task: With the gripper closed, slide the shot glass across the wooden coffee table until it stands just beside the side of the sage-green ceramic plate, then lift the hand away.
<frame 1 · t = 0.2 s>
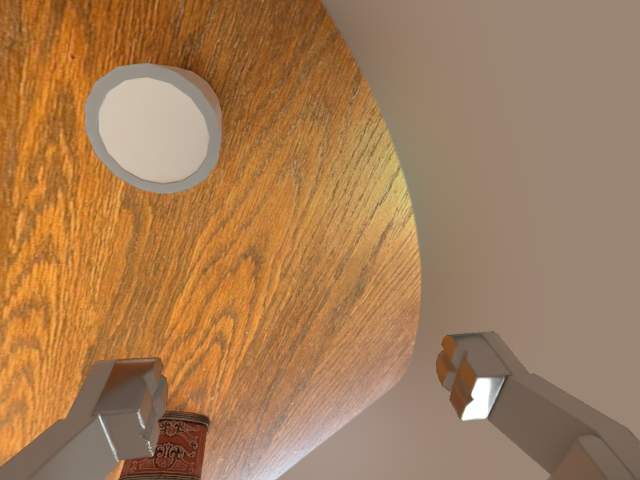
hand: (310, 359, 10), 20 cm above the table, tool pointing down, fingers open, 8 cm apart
shot glass: (181, 110, 25), on the table
lighter: (174, 419, 41), on the table
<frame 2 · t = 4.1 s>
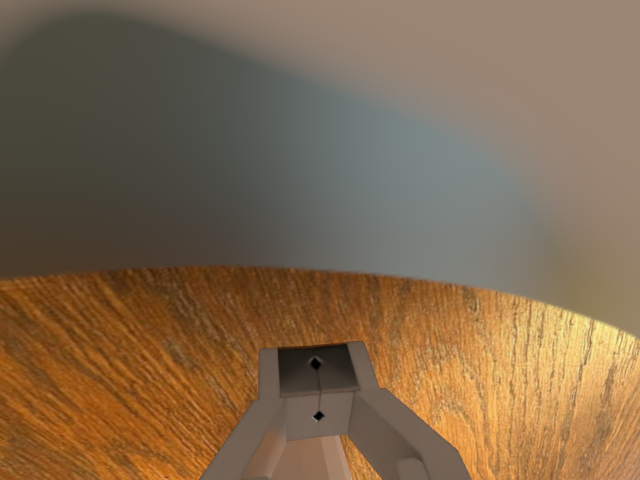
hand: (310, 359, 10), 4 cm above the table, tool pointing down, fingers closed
shot glass: (288, 443, 20), on the table
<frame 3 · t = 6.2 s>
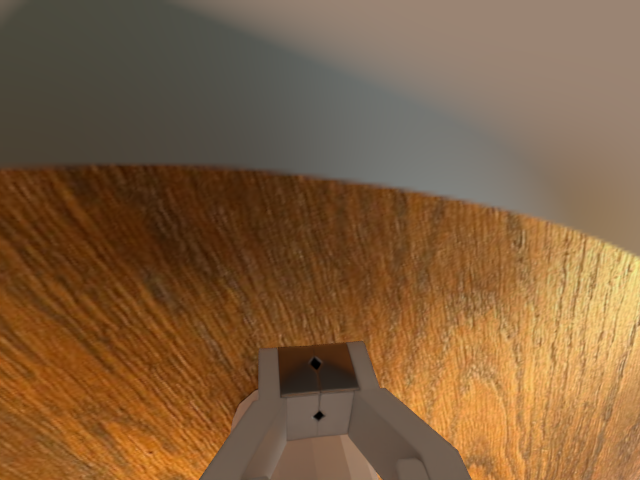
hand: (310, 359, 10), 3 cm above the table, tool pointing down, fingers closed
shot glass: (293, 414, 17), on the table
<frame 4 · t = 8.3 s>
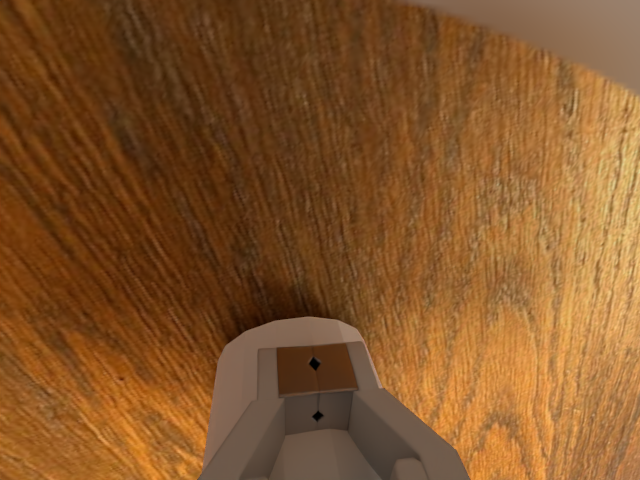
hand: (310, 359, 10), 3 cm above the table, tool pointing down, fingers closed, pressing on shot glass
shot glass: (293, 352, 14), on the table, touching gripper
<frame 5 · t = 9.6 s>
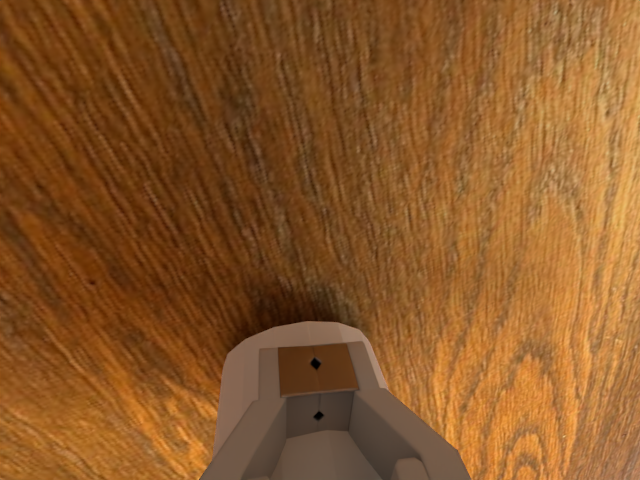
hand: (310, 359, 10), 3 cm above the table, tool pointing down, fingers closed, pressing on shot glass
shot glass: (297, 355, 14), point 1 cm above the table, touching gripper
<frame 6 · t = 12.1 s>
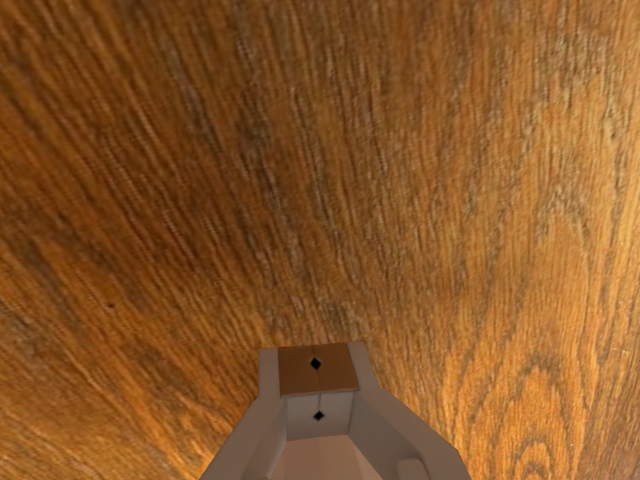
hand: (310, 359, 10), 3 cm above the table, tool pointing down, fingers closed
shot glass: (309, 410, 16), on the table
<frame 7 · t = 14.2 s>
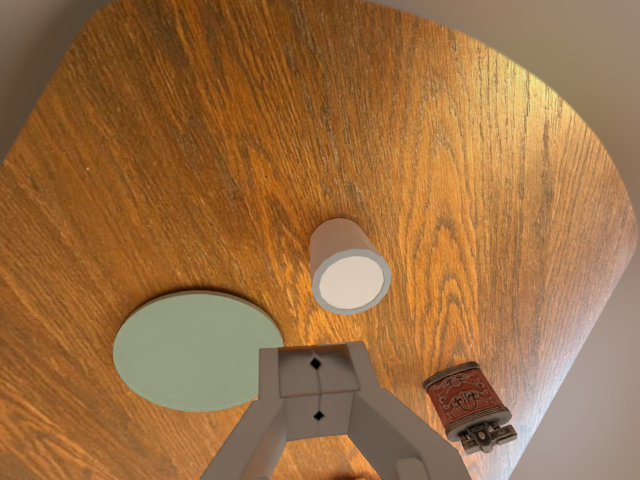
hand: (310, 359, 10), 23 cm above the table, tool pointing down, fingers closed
shot glass: (336, 242, 36), on the table
plate: (204, 349, 40), on the table
lighter: (450, 374, 49), on the table
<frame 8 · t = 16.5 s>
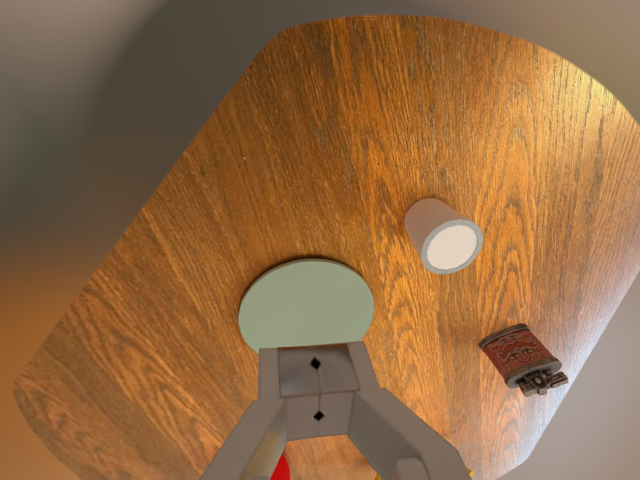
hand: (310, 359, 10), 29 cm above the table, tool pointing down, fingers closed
shot glass: (425, 218, 43), on the table
flower: (268, 455, 64), on the table
plate: (306, 310, 48), on the table
lighter: (502, 335, 57), on the table
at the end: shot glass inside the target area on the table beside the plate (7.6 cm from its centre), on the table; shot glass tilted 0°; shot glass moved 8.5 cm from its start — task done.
